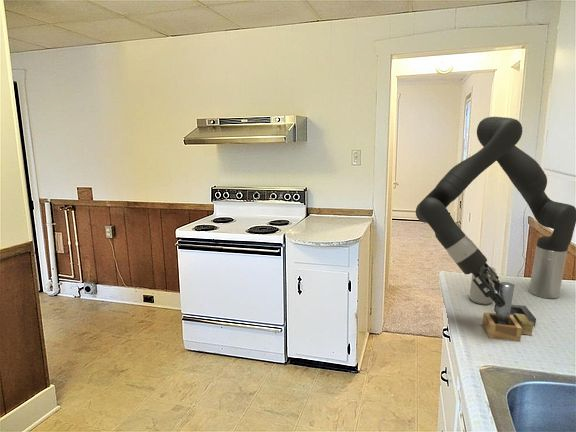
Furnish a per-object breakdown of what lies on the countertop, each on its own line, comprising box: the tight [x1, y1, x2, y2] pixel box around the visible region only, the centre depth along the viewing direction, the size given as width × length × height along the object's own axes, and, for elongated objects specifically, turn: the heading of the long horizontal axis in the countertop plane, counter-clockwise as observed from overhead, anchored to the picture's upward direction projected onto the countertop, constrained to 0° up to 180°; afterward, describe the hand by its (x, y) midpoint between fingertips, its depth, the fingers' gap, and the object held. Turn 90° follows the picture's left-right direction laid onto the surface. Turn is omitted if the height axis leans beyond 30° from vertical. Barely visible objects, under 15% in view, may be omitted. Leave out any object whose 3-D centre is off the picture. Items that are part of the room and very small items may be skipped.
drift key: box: [514, 313, 534, 336], centre depth 121 cm, size 7×3×4 cm, turn 169°
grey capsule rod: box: [494, 281, 515, 325], centre depth 117 cm, size 4×4×15 cm
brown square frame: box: [481, 311, 522, 342], centre depth 119 cm, size 8×8×4 cm
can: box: [468, 265, 498, 306], centre depth 139 cm, size 8×8×12 cm
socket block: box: [493, 303, 537, 327], centre depth 128 cm, size 9×9×2 cm
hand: (503, 300), depth 117 cm, fingers open, 8 cm apart
